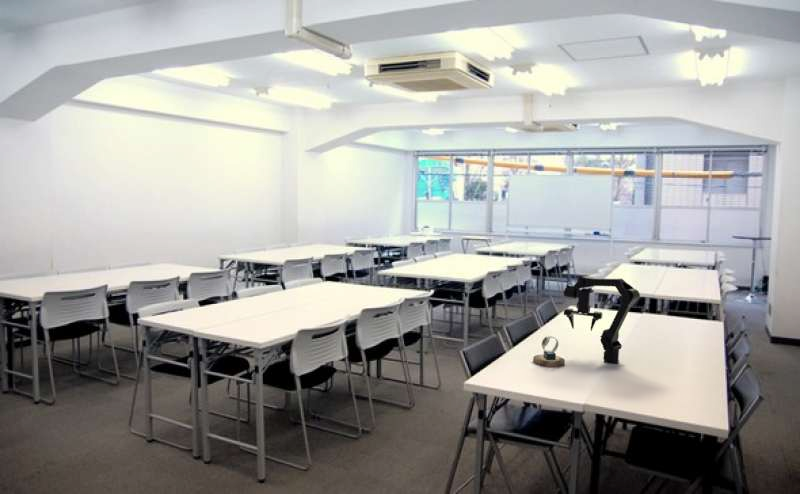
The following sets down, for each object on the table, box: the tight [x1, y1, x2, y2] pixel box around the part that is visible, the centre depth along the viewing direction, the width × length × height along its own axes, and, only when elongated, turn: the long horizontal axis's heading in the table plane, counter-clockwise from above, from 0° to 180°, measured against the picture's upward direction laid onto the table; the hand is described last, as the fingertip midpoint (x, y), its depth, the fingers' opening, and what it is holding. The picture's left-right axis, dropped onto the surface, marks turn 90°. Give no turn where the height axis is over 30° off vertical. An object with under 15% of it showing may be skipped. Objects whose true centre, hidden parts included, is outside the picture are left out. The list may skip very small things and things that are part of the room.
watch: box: [541, 335, 559, 360], centre depth 281 cm, size 6×8×11 cm
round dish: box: [532, 354, 566, 368], centre depth 282 cm, size 15×15×2 cm
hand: (582, 329), depth 298 cm, fingers open, 9 cm apart
